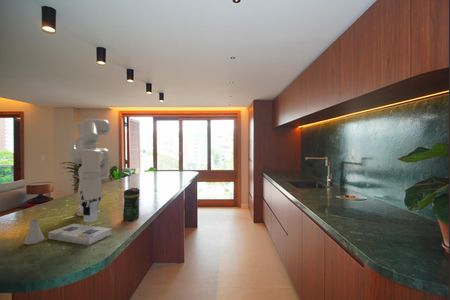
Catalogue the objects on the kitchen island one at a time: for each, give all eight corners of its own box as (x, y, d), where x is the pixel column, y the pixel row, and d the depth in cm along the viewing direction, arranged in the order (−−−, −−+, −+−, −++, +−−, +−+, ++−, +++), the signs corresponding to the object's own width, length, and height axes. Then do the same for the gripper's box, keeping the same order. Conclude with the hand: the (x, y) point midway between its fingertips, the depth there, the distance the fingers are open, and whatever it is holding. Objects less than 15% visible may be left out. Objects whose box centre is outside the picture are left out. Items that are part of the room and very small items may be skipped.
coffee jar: (134, 221, 134) (134, 189, 134) (121, 221, 134) (121, 189, 134) (141, 216, 144) (141, 187, 143) (129, 216, 144) (129, 186, 144)
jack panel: (48, 238, 108) (48, 230, 108) (73, 229, 120) (73, 222, 120) (88, 245, 101) (89, 237, 101) (111, 234, 113) (111, 227, 113)
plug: (83, 221, 108) (83, 196, 108) (90, 218, 112) (91, 194, 111) (91, 222, 107) (91, 197, 106) (98, 219, 110) (98, 195, 110)
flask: (31, 238, 107) (31, 217, 107) (48, 238, 108) (48, 217, 108) (19, 245, 100) (19, 222, 100) (36, 245, 101) (37, 222, 101)
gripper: (98, 173, 118) (98, 208, 118) (68, 177, 102) (68, 218, 102) (110, 173, 116) (110, 209, 116) (81, 178, 100) (81, 220, 100)
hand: (90, 213), depth 109 cm, fingers closed on plug, 4 cm apart
